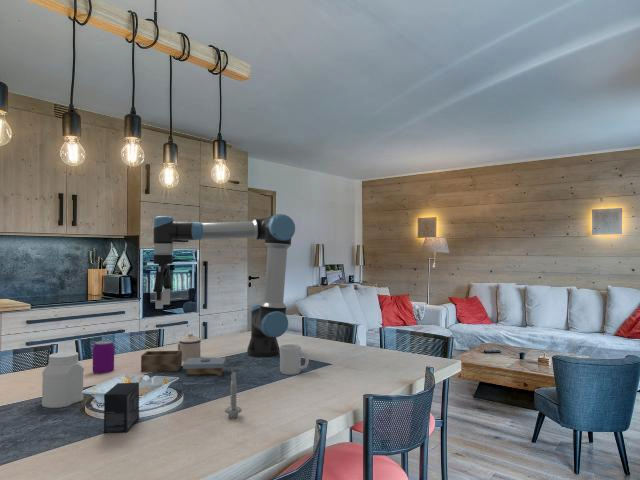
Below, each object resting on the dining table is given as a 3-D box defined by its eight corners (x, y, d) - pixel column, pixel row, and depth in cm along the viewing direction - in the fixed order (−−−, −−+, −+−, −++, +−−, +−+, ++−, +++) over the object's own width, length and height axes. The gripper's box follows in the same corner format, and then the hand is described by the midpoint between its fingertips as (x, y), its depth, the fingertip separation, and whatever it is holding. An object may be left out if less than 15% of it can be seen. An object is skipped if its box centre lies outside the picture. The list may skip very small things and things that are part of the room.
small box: (116, 419, 132) (117, 382, 132) (139, 418, 132) (140, 381, 133) (102, 433, 121) (102, 393, 121) (127, 433, 122) (128, 393, 122)
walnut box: (181, 367, 189) (181, 350, 189) (177, 372, 181) (177, 355, 182) (146, 368, 188) (146, 351, 188) (140, 373, 180) (141, 355, 180)
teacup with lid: (205, 359, 204) (205, 333, 204) (189, 363, 196) (189, 336, 196) (185, 356, 210) (186, 330, 210) (170, 360, 202) (170, 333, 202)
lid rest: (222, 371, 184) (222, 362, 184) (221, 375, 178) (221, 366, 178) (189, 372, 182) (189, 363, 182) (186, 376, 176) (186, 367, 176)
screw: (243, 418, 132) (226, 421, 131) (239, 413, 137) (223, 415, 135) (243, 373, 133) (227, 375, 131) (239, 369, 137) (223, 370, 135)
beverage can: (117, 372, 181) (117, 342, 181) (97, 376, 176) (97, 344, 176) (109, 369, 186) (109, 339, 187) (89, 372, 181) (89, 342, 181)
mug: (312, 371, 184) (312, 346, 184) (304, 377, 177) (304, 350, 177) (285, 369, 189) (285, 343, 189) (276, 374, 181) (276, 347, 181)
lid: (225, 361, 186) (226, 355, 186) (223, 368, 176) (223, 362, 176) (188, 362, 185) (188, 356, 185) (182, 368, 174) (183, 362, 174)
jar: (59, 409, 139) (60, 359, 140) (35, 405, 142) (36, 357, 142) (89, 397, 150) (89, 351, 150) (66, 394, 153) (67, 349, 153)
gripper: (160, 253, 199) (160, 303, 199) (145, 254, 175) (145, 310, 174) (178, 253, 200) (178, 302, 200) (166, 254, 175) (165, 310, 175)
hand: (162, 306), depth 187 cm, fingers open, 13 cm apart
